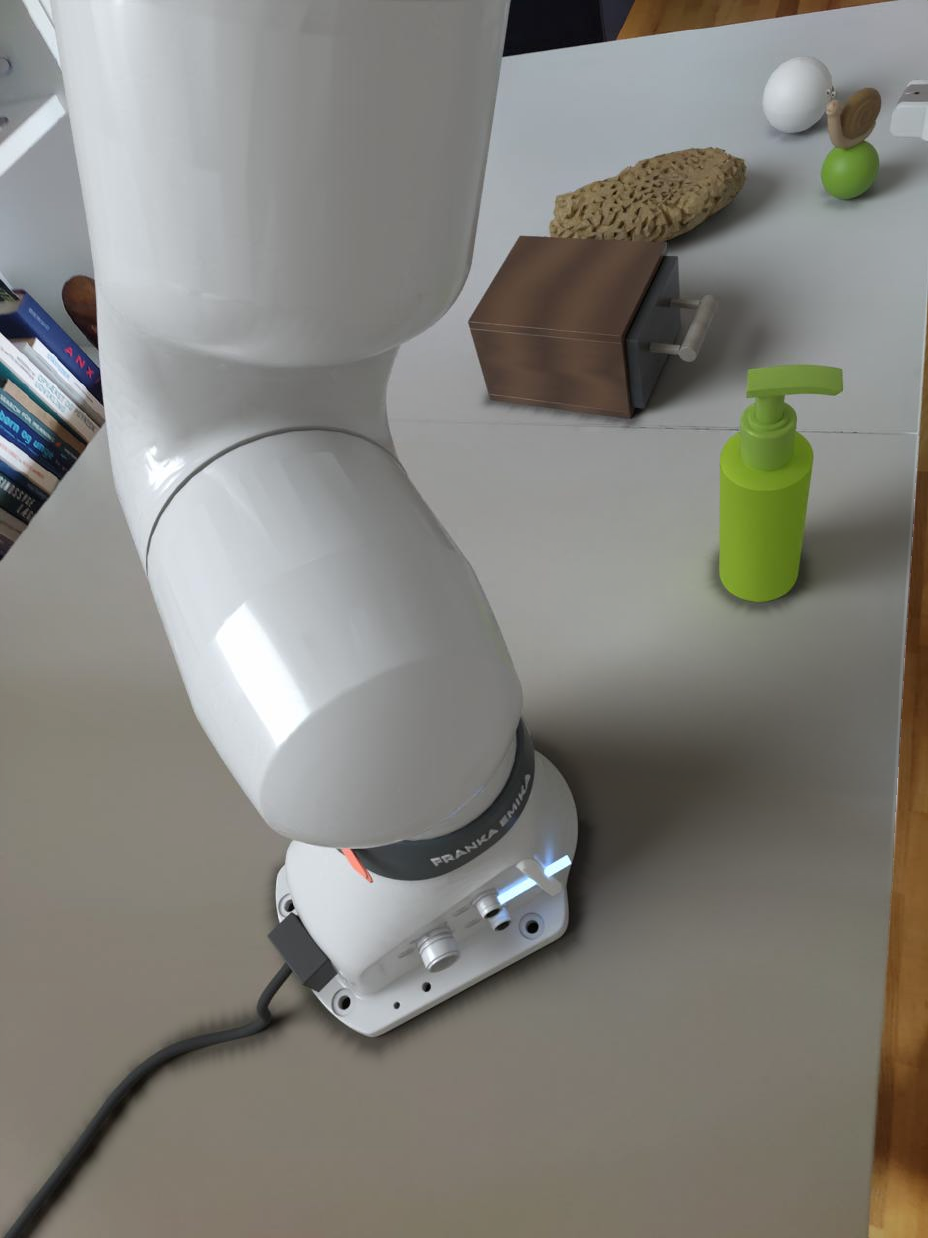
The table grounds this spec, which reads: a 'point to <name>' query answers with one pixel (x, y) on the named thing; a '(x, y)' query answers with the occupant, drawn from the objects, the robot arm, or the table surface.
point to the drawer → (663, 330)
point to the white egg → (797, 94)
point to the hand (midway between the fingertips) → (897, 108)
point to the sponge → (651, 198)
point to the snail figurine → (851, 144)
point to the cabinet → (564, 322)
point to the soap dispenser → (768, 483)
